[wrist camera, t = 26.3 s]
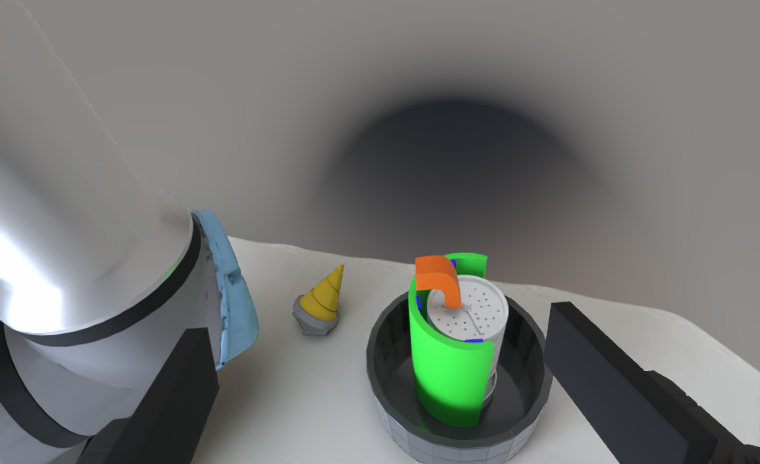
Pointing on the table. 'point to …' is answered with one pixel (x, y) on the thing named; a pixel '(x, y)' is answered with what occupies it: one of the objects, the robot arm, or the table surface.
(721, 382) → the table surface
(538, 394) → the pot
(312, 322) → the spiral yellow cone
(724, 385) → the table surface
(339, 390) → the table surface
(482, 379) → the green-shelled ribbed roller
